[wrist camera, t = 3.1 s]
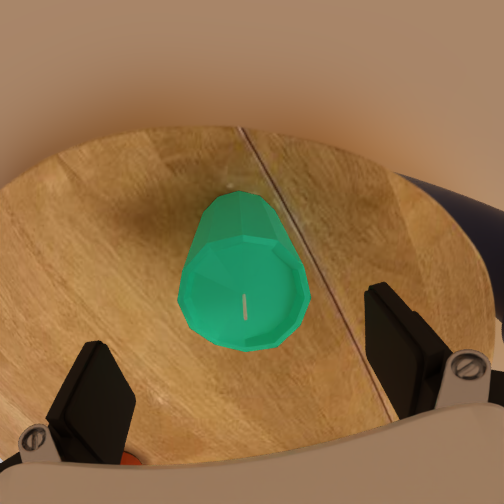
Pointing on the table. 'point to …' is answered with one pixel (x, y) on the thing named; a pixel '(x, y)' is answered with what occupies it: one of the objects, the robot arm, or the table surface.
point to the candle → (243, 276)
